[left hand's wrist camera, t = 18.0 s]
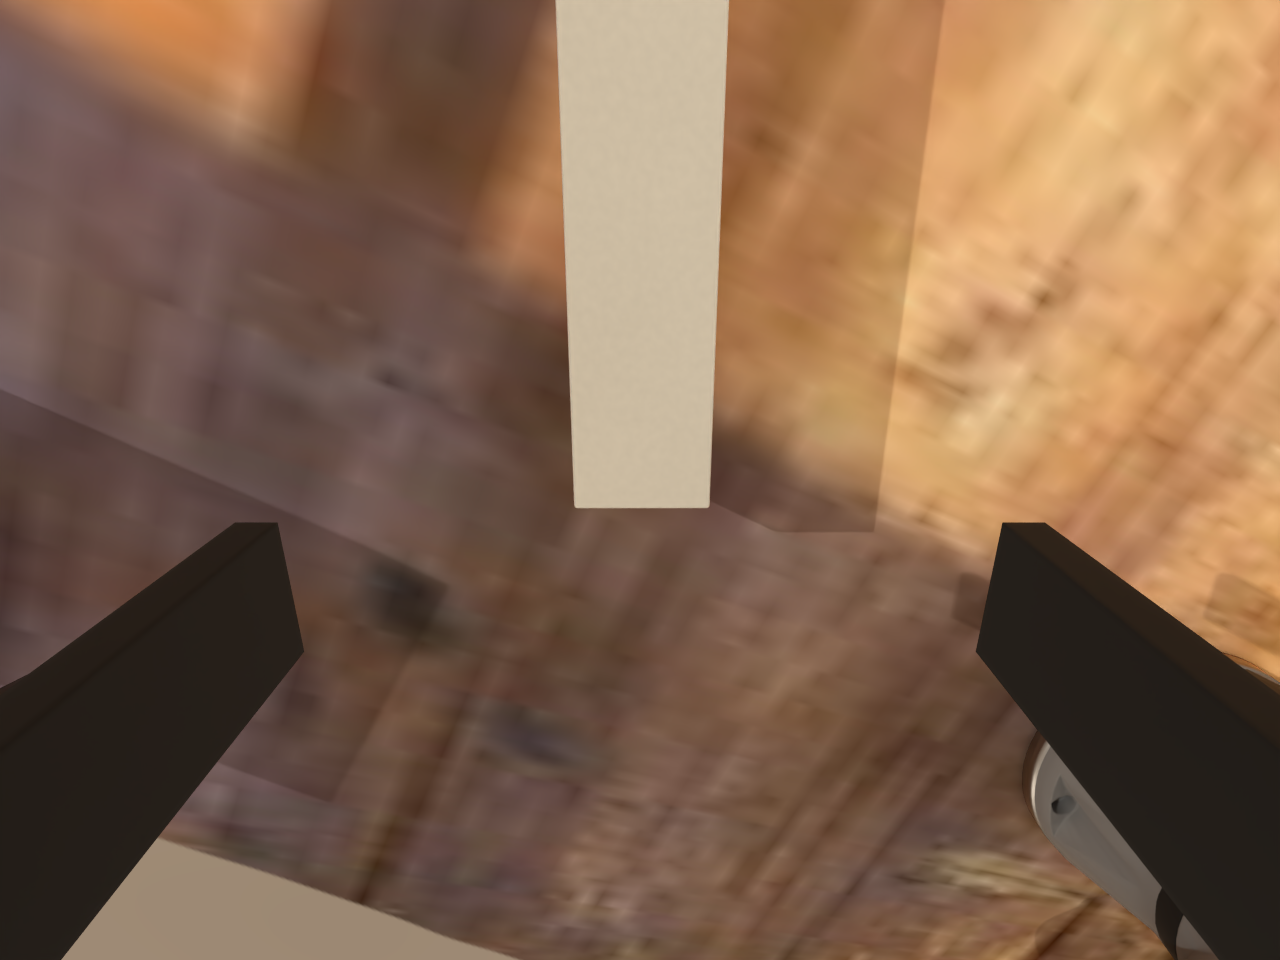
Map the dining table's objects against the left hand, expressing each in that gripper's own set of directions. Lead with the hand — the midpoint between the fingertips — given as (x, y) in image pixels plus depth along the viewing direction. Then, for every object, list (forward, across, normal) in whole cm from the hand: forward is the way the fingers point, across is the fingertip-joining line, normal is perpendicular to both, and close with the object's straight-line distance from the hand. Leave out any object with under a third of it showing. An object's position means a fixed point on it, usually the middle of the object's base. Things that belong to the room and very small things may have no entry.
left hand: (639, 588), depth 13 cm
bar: (+21, 0, -10) cm, 23 cm away
